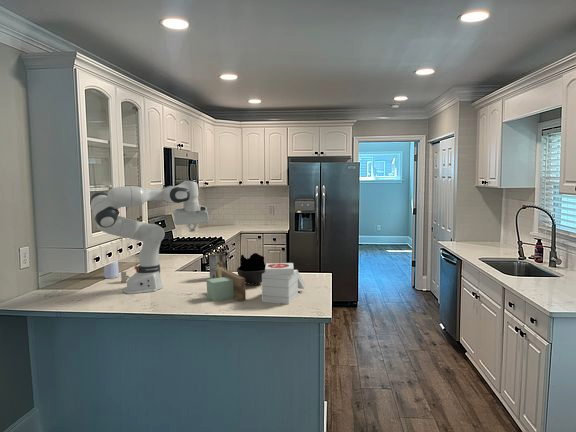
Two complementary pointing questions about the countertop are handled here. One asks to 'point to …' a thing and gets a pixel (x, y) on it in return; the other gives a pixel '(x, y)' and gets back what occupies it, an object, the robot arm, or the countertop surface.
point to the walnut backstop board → (236, 284)
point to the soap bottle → (111, 270)
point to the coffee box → (217, 265)
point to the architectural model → (124, 277)
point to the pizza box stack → (281, 283)
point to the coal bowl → (252, 269)
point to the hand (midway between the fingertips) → (192, 231)
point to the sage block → (220, 288)
